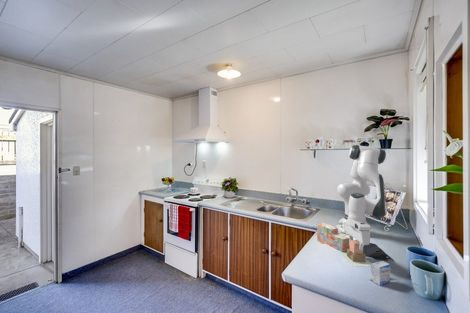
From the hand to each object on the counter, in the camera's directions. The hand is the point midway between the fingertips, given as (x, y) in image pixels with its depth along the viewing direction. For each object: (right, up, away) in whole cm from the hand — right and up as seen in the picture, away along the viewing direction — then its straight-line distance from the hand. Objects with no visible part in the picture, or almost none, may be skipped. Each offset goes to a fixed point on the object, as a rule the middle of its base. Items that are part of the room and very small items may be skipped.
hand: (356, 245), depth 126 cm
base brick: (0, -8, 0) cm, 8 cm away
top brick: (0, -4, 0) cm, 4 cm away
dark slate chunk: (+16, -9, +10) cm, 21 cm away
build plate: (0, -9, 0) cm, 9 cm away
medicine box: (+1, -9, -20) cm, 22 cm away
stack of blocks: (-5, -8, +19) cm, 22 cm away
